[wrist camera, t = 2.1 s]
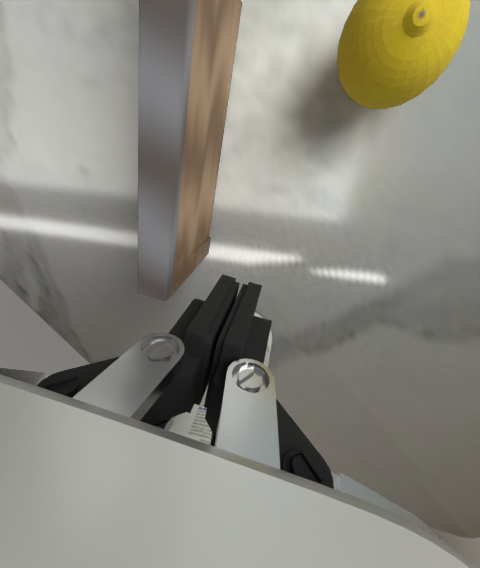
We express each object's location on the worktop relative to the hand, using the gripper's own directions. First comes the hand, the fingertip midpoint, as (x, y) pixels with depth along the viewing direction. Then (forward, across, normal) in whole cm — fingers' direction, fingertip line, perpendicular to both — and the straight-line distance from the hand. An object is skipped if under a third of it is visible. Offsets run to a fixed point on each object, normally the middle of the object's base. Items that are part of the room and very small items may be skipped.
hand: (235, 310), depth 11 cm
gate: (+13, +6, -6) cm, 16 cm away
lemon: (+14, -4, -12) cm, 19 cm away
